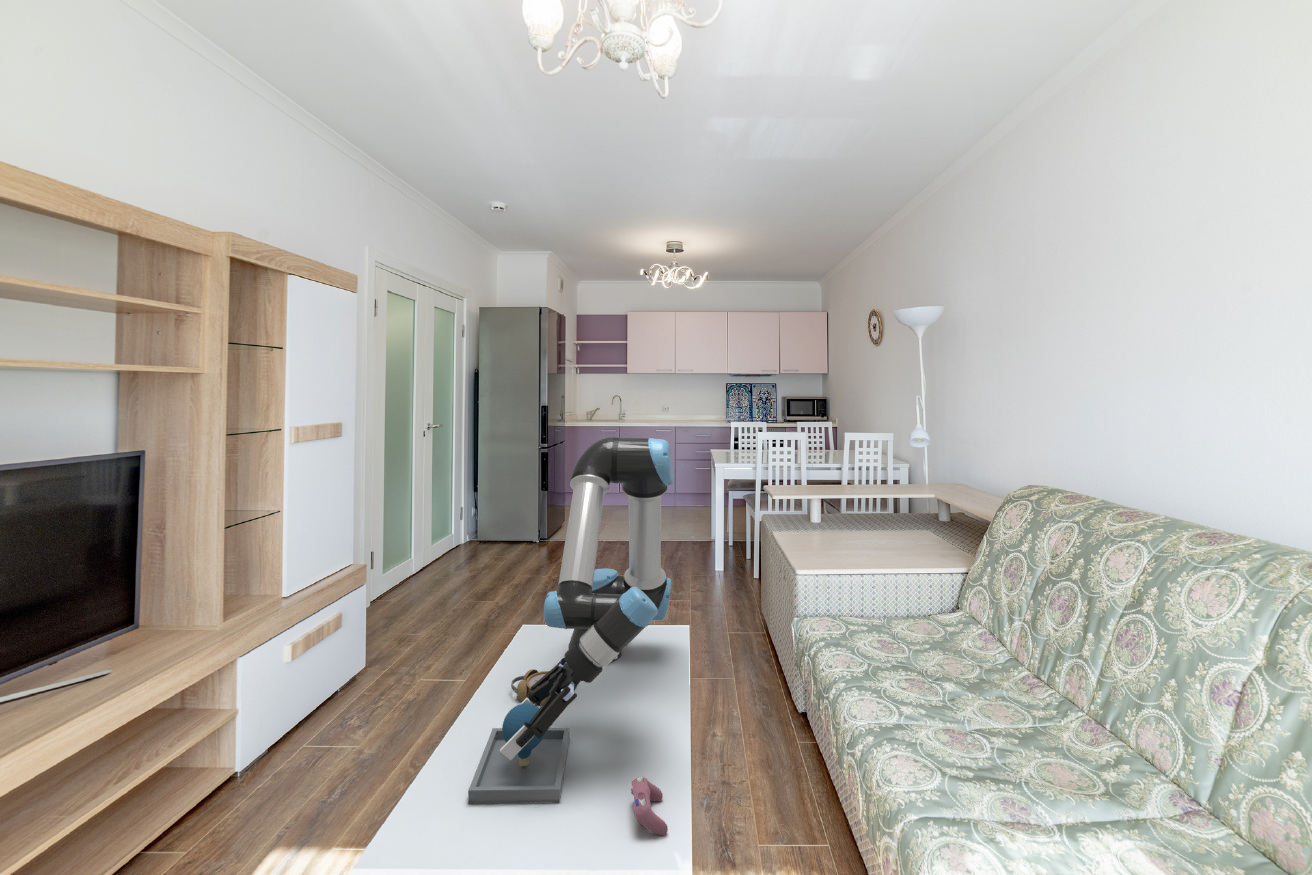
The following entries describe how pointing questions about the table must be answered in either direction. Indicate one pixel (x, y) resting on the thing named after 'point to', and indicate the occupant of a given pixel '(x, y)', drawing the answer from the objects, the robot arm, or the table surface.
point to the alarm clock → (527, 683)
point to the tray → (521, 772)
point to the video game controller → (647, 805)
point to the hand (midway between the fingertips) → (506, 739)
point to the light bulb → (515, 723)
